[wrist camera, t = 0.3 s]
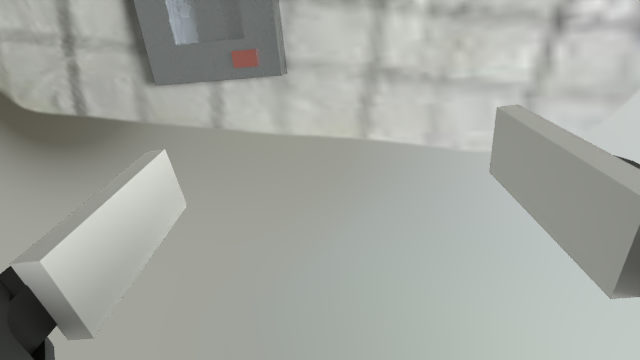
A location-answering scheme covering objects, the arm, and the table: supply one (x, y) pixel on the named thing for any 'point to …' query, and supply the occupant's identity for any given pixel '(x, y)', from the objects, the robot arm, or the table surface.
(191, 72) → the socket block
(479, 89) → the table surface
